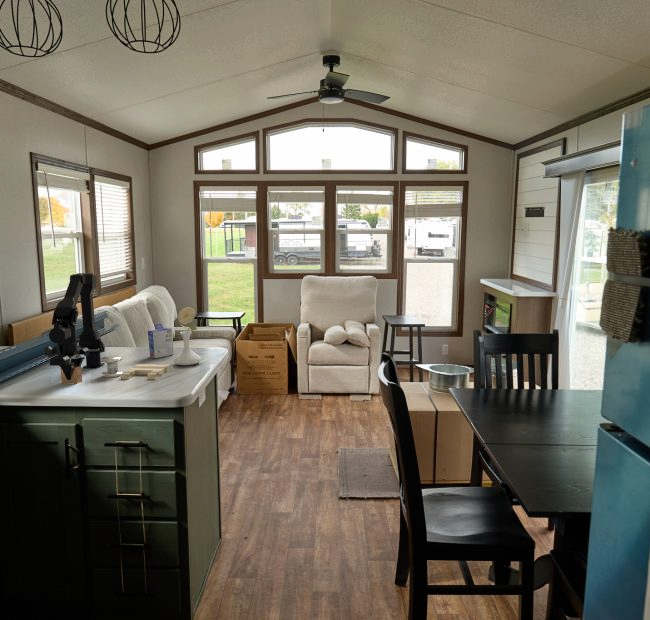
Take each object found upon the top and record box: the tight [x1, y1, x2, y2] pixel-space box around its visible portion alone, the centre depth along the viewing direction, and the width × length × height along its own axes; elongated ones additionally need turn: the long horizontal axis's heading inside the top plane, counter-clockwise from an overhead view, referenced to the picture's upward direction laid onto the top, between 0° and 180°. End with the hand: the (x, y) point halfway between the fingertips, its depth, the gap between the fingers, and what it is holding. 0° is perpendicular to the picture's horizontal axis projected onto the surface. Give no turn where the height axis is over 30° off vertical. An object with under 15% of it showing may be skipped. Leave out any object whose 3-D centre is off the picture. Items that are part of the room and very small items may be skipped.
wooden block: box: [59, 365, 83, 385], centre depth 217 cm, size 4×6×6 cm, turn 85°
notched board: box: [120, 363, 172, 380], centre depth 228 cm, size 16×14×2 cm
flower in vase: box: [173, 306, 202, 366], centre depth 241 cm, size 13×11×25 cm
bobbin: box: [101, 355, 124, 379], centre depth 227 cm, size 8×8×7 cm
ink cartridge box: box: [147, 323, 175, 359], centre depth 259 cm, size 10×6×14 cm, turn 135°
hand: (71, 378), depth 218 cm, fingers closed on wooden block, 4 cm apart
